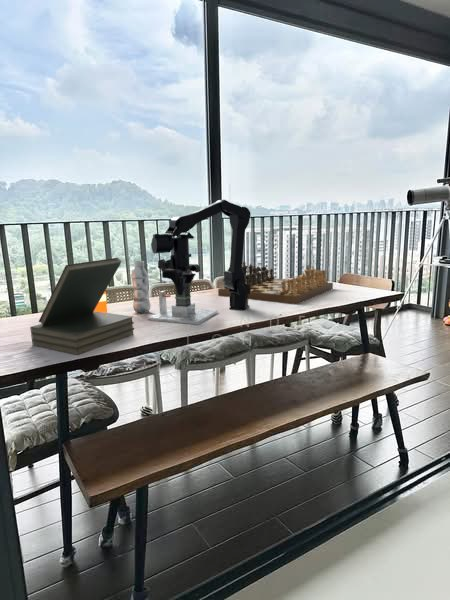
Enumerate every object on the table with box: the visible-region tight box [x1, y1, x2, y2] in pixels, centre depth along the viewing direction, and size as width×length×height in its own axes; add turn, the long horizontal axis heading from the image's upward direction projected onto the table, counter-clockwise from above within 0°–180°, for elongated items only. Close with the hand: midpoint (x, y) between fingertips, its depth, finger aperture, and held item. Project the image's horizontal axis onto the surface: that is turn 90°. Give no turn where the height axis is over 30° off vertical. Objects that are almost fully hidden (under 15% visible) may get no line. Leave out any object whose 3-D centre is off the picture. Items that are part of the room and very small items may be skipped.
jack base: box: [147, 290, 219, 325], centre depth 155 cm, size 20×18×9 cm
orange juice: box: [94, 290, 108, 313], centre depth 158 cm, size 8×9×20 cm
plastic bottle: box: [130, 260, 152, 314], centre depth 162 cm, size 6×7×20 cm
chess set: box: [217, 261, 334, 305], centre depth 198 cm, size 40×40×15 cm
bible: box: [30, 257, 135, 356], centre depth 127 cm, size 23×20×25 cm
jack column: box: [174, 283, 192, 306], centre depth 155 cm, size 4×4×8 cm
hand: (182, 294), depth 155 cm, fingers closed on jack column, 4 cm apart
